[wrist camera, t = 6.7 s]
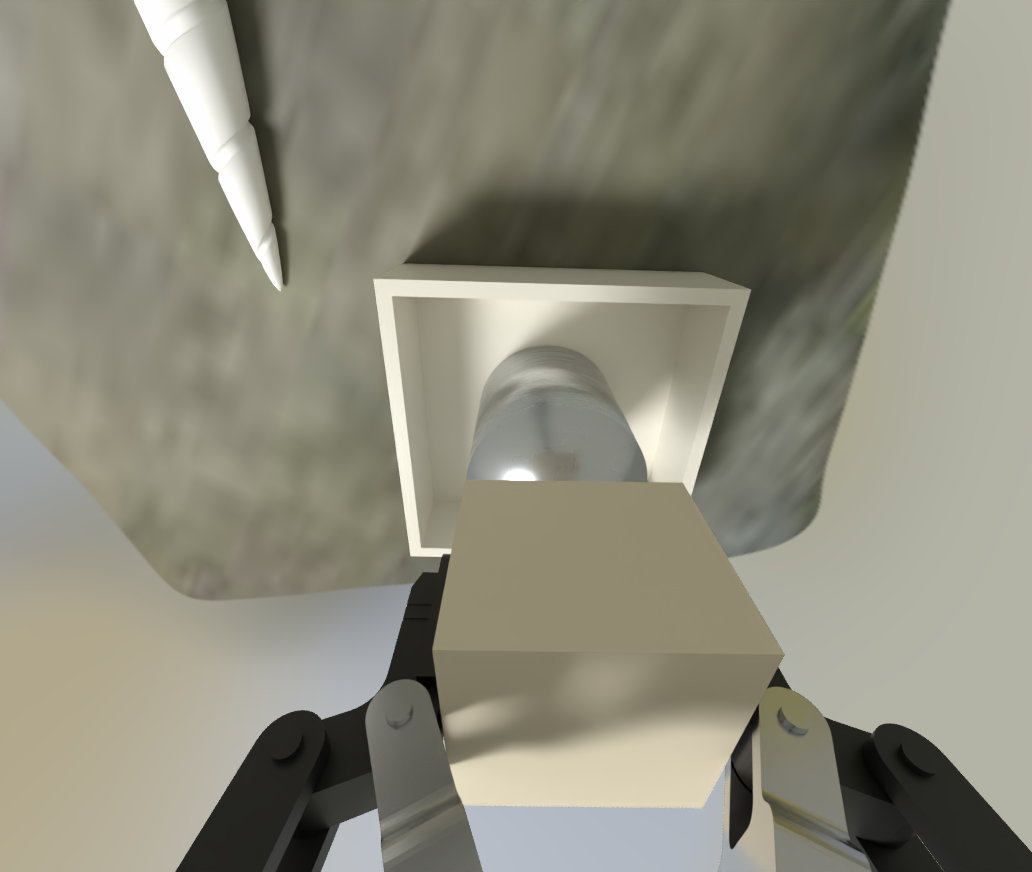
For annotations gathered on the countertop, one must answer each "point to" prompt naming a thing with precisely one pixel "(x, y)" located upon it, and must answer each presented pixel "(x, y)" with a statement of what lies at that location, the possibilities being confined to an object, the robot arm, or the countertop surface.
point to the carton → (593, 647)
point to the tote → (539, 322)
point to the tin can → (552, 423)
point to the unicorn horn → (217, 108)
